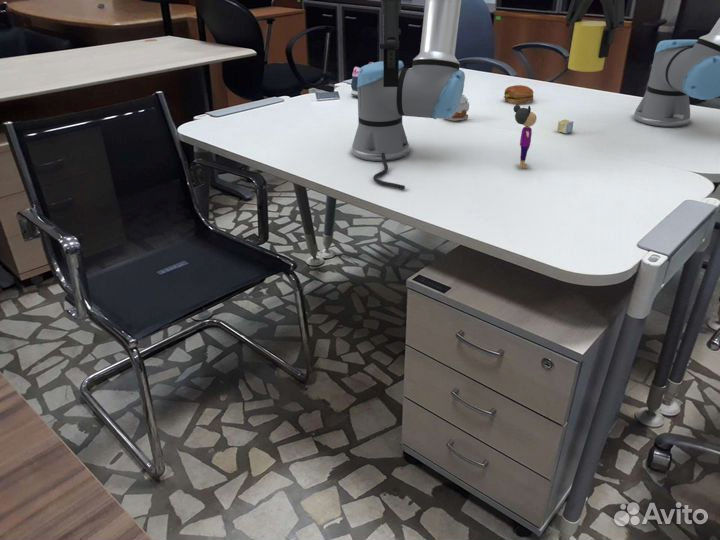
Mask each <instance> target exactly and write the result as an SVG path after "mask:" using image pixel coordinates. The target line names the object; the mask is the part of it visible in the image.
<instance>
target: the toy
mask: <svg viewBox="0 0 720 540" xmlns="http://www.w3.org/2000/svg"><path fill="white" fill-rule="evenodd" d="M512 110H513V113H514V119H515V121H516V123H517V124H519V125H522V126H523V128H522V129H521V133H520V139H519V140H520V141H519V146H520V156H519V158H520V160H519V167H520V169H528V163H526V160H527V155H528V151H529V149H530V147H531V142H532V134H533V130H532V126H534V125H535V124H536V123H537V115H536V113H534V112H532V108H531V105H528V106H527V107H521V106H520V104H516V105H515V104H514V106H513V109H512Z"/></svg>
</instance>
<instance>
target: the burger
mask: <svg viewBox="0 0 720 540" xmlns="http://www.w3.org/2000/svg"><path fill="white" fill-rule="evenodd" d="M503 98H504V100H505V101H507V103H509V104H514V105H515V104H516V105H521V104H525V103H531V102H534V90H533V89H532V88H531V87H530V86H527V85H523V84H520V85H519V84H517V85H511V86H510V85H509V86H508V87H506V88H505V89H504V96H503Z"/></svg>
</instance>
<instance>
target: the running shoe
mask: <svg viewBox="0 0 720 540" xmlns="http://www.w3.org/2000/svg"><path fill="white" fill-rule="evenodd" d="M371 63H374V62H373V61H369V62H368V64H371ZM360 68H361V67H359V66H354V67H353V71H352V77H351V82H350V86H351V96H353V97H357V98H358V90H357V84H358V71H359V69H360Z"/></svg>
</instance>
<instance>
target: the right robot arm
mask: <svg viewBox="0 0 720 540" xmlns="http://www.w3.org/2000/svg"><path fill="white" fill-rule="evenodd" d="M594 1H595V0H571V1H570V4H569V7H568V10H567V12H566V16H565V22H566V23H569V24H570V30H569V39H570V43H569V49H568V53H570V50H571V44H572V38H573V31H574V25H575V23H576V22H580V21H583V18H584V17H585V15H586V13H587V12H588V10H589V8H590V7H591V4H592V3H593V2H594ZM625 1H626V0H599V2H600V4H601V5H602V11H603V16H604V22H606V29H605V30H603V36H602V41H601V46H600V52H599V57H598V58H604V57H605V58H608V57H609V54H610V48H611V45H612V44H613V43H614V40H615V35H616V31H617V30H618V29H623V28H624V26H625V7H626V6H625ZM646 86H647V87H646V91H645V93H644V95H643V97H642V98H641V100H640V102H639V104H638V105H637V107H636V108H635V111H634V114H633V119H634V120H635V121H637V122H639V123H642V124H645V125H648V126H649V125H650V126H654V127H662V128H663V127H664V128H675V127H684V126H687V125H689V123H690V121H691V120H690V119H691V106H690V104H691V103H690V98H693V99H697V100H700V101H701V100H702V101H710V100H714V99H716V98H719V97H720V17H719V18H718V20H717V21H716V23H715V24H714V26H713V27H712V29H711V30H710V32H708V33H707V34H705V35H702V36H699V38H698V39H664V40H661V41H659V42H658V43H657V45H656V48H655V52H654V54H653V60H652V64H651V69H650V73H649V78H648V82H647V85H646Z"/></svg>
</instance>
